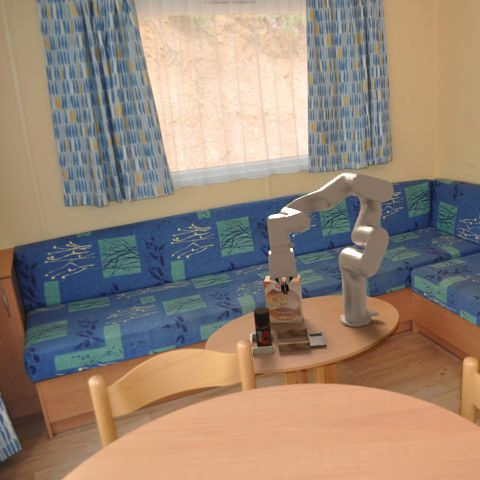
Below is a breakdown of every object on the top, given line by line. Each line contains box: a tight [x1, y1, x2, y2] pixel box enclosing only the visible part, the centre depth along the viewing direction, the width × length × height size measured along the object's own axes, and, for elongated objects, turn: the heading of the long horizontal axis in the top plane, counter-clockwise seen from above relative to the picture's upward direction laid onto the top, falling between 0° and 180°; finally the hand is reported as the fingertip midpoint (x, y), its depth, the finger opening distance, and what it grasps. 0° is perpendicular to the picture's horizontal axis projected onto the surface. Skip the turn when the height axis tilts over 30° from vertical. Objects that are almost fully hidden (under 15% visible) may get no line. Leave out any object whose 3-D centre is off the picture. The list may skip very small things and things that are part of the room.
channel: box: [276, 327, 312, 352], centre depth 181 cm, size 12×12×3 cm
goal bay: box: [249, 330, 275, 355], centre depth 182 cm, size 9×13×2 cm
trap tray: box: [307, 331, 327, 349], centre depth 180 cm, size 6×10×1 cm, turn 177°
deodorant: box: [253, 306, 273, 347], centre depth 180 cm, size 6×6×15 cm
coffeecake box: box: [263, 274, 304, 324], centre depth 199 cm, size 15×7×20 cm, turn 77°
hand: (285, 293), depth 176 cm, fingers closed
